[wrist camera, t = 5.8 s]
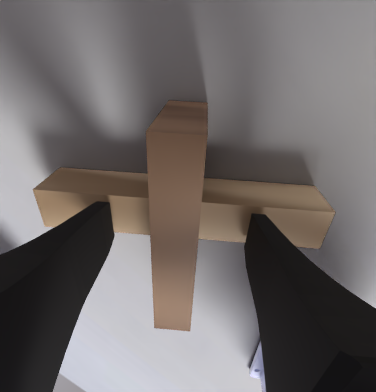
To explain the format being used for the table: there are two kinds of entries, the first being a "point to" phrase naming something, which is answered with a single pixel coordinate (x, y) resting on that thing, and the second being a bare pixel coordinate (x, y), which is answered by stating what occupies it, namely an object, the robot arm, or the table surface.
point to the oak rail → (210, 207)
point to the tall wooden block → (175, 207)
